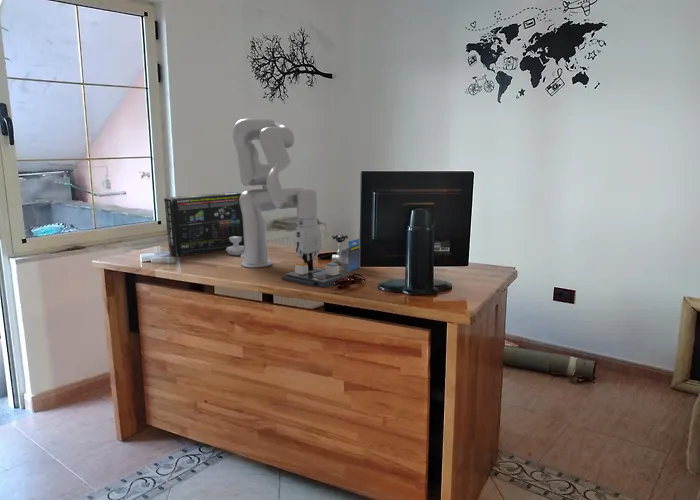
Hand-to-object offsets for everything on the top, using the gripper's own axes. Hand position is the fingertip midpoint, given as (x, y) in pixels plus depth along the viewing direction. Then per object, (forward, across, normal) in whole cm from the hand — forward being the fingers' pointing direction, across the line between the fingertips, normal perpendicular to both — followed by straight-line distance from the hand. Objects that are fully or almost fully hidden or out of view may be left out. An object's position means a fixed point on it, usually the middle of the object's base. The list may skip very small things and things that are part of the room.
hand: (308, 270), depth 213 cm
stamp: (+3, +10, +57) cm, 58 cm away
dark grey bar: (+3, -8, -3) cm, 9 cm away
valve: (+3, +25, +6) cm, 25 cm away
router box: (+3, +8, +77) cm, 77 cm away
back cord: (+3, +10, -5) cm, 11 cm away
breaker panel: (+3, 0, -5) cm, 6 cm away
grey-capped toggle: (0, +2, -10) cm, 10 cm away
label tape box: (+3, +20, -4) cm, 20 cm away
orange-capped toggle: (0, -4, 0) cm, 4 cm away
